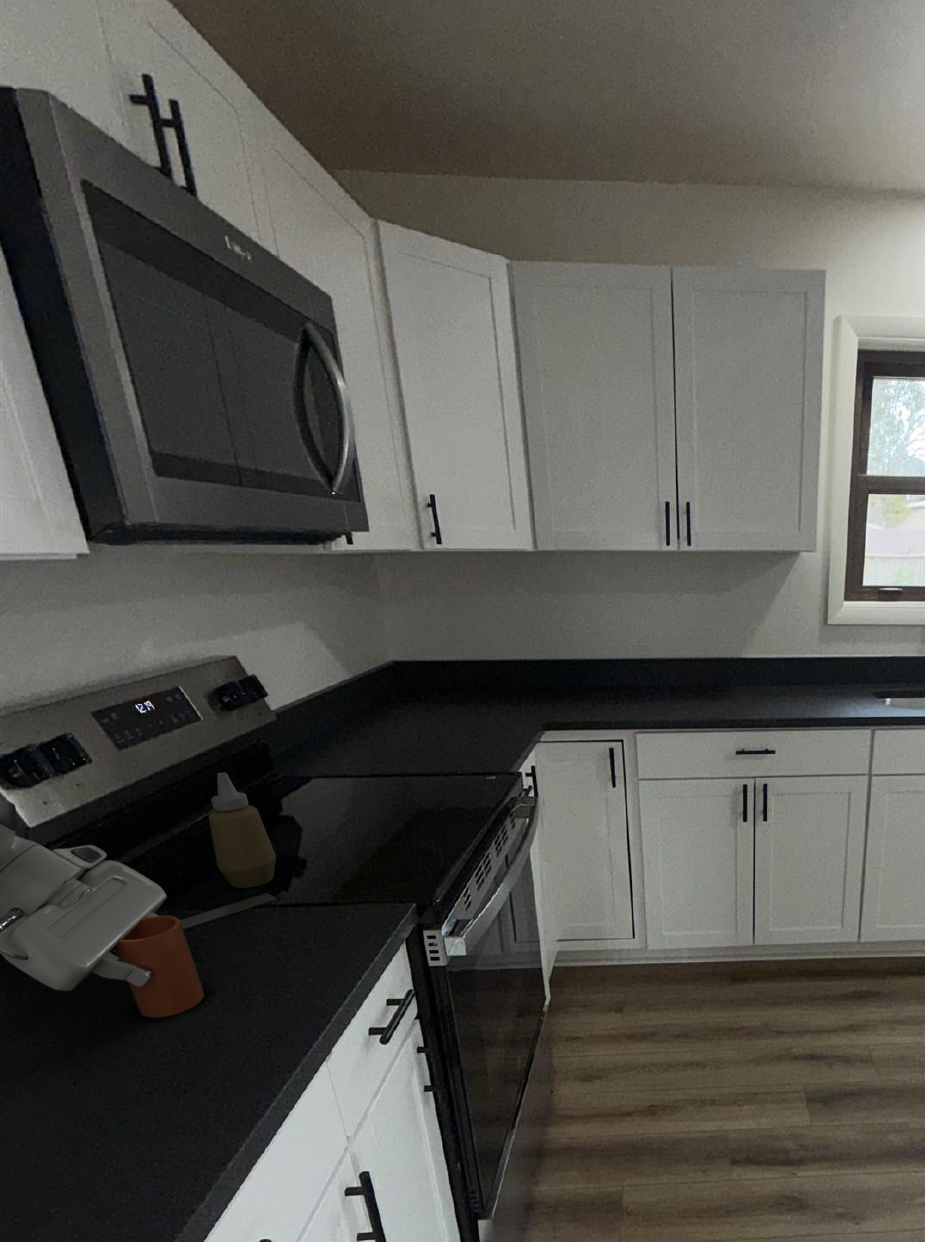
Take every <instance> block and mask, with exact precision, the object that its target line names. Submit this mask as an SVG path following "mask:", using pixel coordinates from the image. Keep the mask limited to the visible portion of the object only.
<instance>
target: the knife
mask: <svg viewBox="0 0 925 1242" xmlns="http://www.w3.org/2000/svg"><path fill="white" fill-rule="evenodd" d="M274 901H277V897H275V896H273V895H272V894H270V893H268V892H265V893H261V894H258V895H256V896H251V897H249V898H246V899H243V900H239V901H237V902H234V903H230V904H227V905H224V906H221V907H217V908H215V909H211V910H208V911H205V912H201V913H197V914H195V915H193V916H190V917H186V918H183V919H179V920H180V922H181V925H182V928H183V931H185V930H187V929H191V928H193V927H194V928H195V927H197V926H200V925H203V924H207V923H209V922H213V921H216V920H219V919H221V918H225V917H228V916H230V915H234V914H237V913H240V912H243V911H245V910H249V909H252V908H255V907H258V906H261V905H264V904H268V903H271V902H274ZM114 952H116V950H114V951H113V952H112V953H114Z"/></svg>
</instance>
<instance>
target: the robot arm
mask: <svg viewBox="0 0 925 1242" xmlns="http://www.w3.org/2000/svg"><path fill="white" fill-rule="evenodd" d="M18 827H19V826H18V815H17V808H16V804H14V803H13V802H11V801H9V800H7V799H5V798H3V797H1V796H0V954H1V955H2V957H3V958H4V959H5V960H6V961H7V962H9V963H10V964H11V965H13V966H14V967H16V968H17V969H18V970H20V971H22V972H23V973H25V974H26V975H28V976H30V977H31V978H33V979H34V980H36V981H38V982H40V983H41V984H43V985H45V986H46V987H48V988H51V990H52V989H53V990H55V991H65V992H71V991H73V990H74V989H75V988H77V986H78V985H79V984H81V982H83V981H84V980H85V978H87V977H88V976H89V975H90V974H91V973H93V974H96V975H97V976H99V977H101V978H105V979H112V980H113V979H114V980H120V981H126V982H127V983H128V982H130V983H132V984H134V985H136V986H139V987H141V986H143V985H144V984H145V983H146V982H147V981H148V980H149V978H150V977H151V976H152V975H153V974H154V971H153V969H151V968H148V967H147V966H145V965H143V964H142V963H139V964H138V965H137V966H136V965H132V964H128V963H124V962H120V960H119V957H118V955H115V954H113V953H114V952H113V951H114V950H115V946H116V945H117V944H118V940H119V939H123V938H124V937H125V936H126V935H128V934H129V933H130V932H131V931H132V930H133V929H134V928H135V927H136V926H137V925H138V924H139V923H140V920H141V919H142V918H147V917H152V916H159V915H158V914H156V912H157V911H158V910H159V909H160V907H161V906H162V905H163V903H165V901H166V899H167V897H168V896H167V894H166V892H165V890H164V889H163V888H162V887H161V886H160V885H159V884H157V883H156V882H154V881H153V880H151V879H150V878H148V877H146V876H145V875H143V874H142V873H139V872H138V871H136V870H135V869H133V868H131V867H129V866H128V865H126V864H125V863H121V862H118V861H116V860H111V859H109V860H105V859H106V858H107V856H108V854H107V853H106V852H105V851H104V850H102V849H101V848H99V847H98V846H96V845H92V844H86V845H80V846H75V847H68V848H67V847H66V848H54V849H52V850H51V849H48V848H47V847H46V846H43V845H42V844H40V843H37V842H35V841H32V840H30V839H27V838H23V837H21V836H18V835H16V834H17V833H18V831H19V829H18Z"/></svg>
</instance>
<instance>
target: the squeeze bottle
mask: <svg viewBox="0 0 925 1242" xmlns="http://www.w3.org/2000/svg"><path fill="white" fill-rule="evenodd" d="M216 775H217V795H214V796H213V797H211V799H210V801H211V805H212V808H213V811H212V812H211V813H209V815H208V821H209V826H210V827H209V828H210V833H211V838H212V844H213V850H214V855H215V862H216V867H217V868H218V870H219V871H220V872H221V873H222V875H223V876H224V878H225V879H226V880H227V881H228V883H229V884H230V885H231V886H232V887H233V888H238V889H247V888H254V887H259V886H263V885H264V884H268V883H269V882H270V881H272V880H273V879H274V876H275V868H276V857H277V856H276V853H275V850H274V847H273V845H272V843H271V840H270V837H269V835H268V832H267V830H266V828H265V826H264V822H263V820H262V818H261V816H260V813H259V810H258V808H256V807H255V806H252V805H251V804H250V805H249V800H248V796H247V794H246V793H245V792H240V791H237V790H236V787H235V786H234V784H233V782H232V779H231V778H230V776H229V775H228V773H227V772H223V771H222V772H218V773H217V774H216Z"/></svg>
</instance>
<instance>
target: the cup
mask: <svg viewBox="0 0 925 1242" xmlns="http://www.w3.org/2000/svg"><path fill="white" fill-rule="evenodd" d="M180 920H181V919H179V918H178V917H176V916H174V915H173V916H172V915H158V916H152V917H147V918H142V919H141V920H140V923H139V924H138V925H137V926H136V927H135V928H134V929H133V930H132V931H131V932H130V933H129V934H128V935H126V936H125V937H124V938H123V939H119V940H118V944H117V945H116V946H115V950H116V951H115V952H116V954H117V955H116V956H117V957H119V959H118V961H120V962H124V963H128V964H132V965H136V966H137V965H138V964H139V963H142V964H143V965H145V966H147V967H148V968H151V969H153V971H154V974H153V975H152V976H151V977H150V978H149V980H148V981H147V982H146V983H145V984H144V985H143V986H141V987H139V986H136V985H134V984H132V983H130V982H128V981H127V983H128V986H129V989H130V991H131V994H132V997H133V999H134V1002H135V1004H136V1007H137V1009H138V1011H139V1013H140V1014H141V1016H143V1017H146V1018H155V1019H156V1018H165V1017H170V1016H174V1015H177V1014H181V1013H183V1012H186V1011H188V1010H190V1009H192V1008H194V1007H196V1006H197V1005H198V1004H199V1003H201V1001H203V999H204V997H205V992H204V988H203V985H202V981H201V979H200V976H199V973H198V970H197V967H196V964H195V961H194V958H193V955H192V952H191V950H190V947H189V943H188V940H187V937H186V935H185V932H184V931H185V930H183V928H182V925H181V922H180Z"/></svg>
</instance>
